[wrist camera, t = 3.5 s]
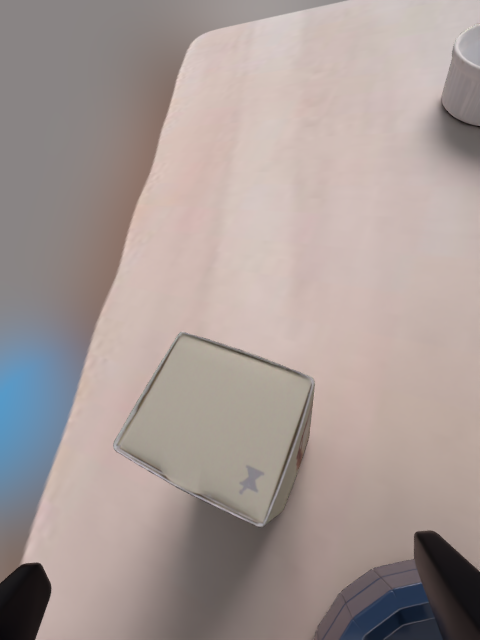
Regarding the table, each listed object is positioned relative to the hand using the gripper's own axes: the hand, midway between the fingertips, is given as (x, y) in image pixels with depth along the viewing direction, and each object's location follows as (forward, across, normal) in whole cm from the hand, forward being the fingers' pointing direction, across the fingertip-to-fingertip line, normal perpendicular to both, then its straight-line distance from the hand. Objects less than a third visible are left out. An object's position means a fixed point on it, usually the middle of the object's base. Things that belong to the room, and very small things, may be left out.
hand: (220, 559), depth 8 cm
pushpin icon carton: (+10, 0, +5) cm, 11 cm away
